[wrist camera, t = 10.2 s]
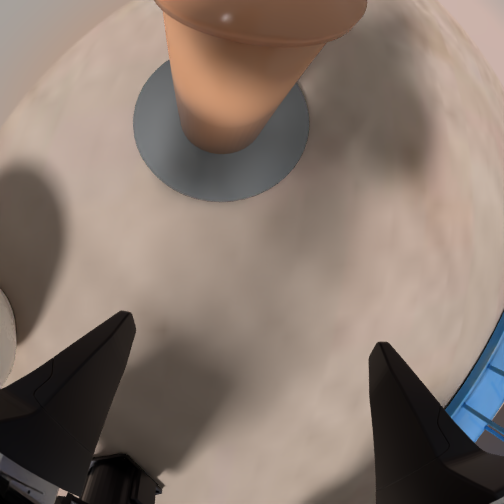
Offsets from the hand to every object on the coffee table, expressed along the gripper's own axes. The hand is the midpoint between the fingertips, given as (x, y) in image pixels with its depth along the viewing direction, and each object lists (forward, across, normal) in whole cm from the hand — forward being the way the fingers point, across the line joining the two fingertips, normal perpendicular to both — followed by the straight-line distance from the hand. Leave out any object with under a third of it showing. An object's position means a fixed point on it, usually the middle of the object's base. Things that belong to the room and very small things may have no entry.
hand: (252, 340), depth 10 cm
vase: (+13, +4, -6) cm, 14 cm away
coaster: (+13, +4, -6) cm, 15 cm away
